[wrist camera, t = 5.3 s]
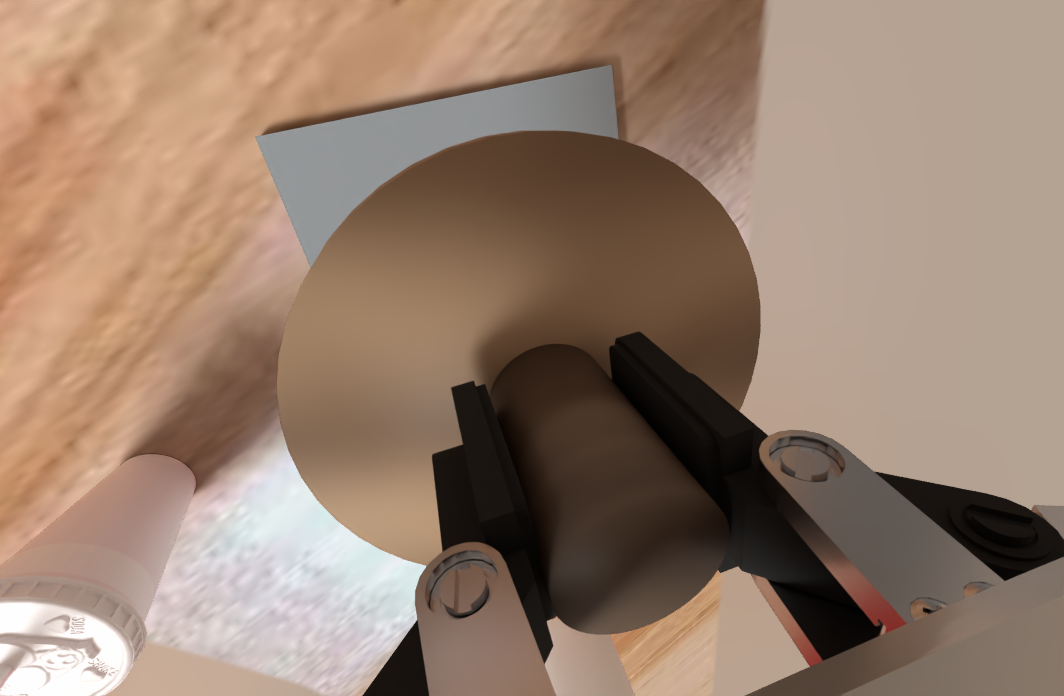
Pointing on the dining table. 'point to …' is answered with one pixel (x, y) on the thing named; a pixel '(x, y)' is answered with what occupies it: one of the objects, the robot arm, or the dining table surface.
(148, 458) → the smoothie
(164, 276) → the dining table surface
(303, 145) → the mat
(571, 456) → the lid
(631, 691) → the cylindrical container
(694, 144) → the dining table surface
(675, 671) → the dining table surface
